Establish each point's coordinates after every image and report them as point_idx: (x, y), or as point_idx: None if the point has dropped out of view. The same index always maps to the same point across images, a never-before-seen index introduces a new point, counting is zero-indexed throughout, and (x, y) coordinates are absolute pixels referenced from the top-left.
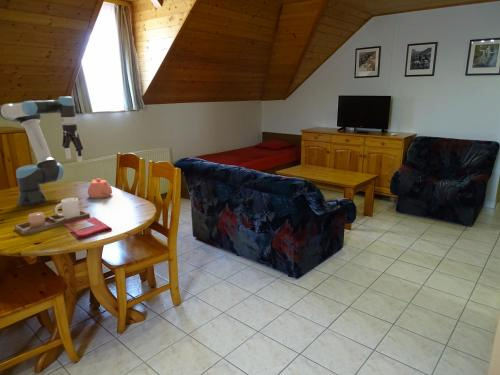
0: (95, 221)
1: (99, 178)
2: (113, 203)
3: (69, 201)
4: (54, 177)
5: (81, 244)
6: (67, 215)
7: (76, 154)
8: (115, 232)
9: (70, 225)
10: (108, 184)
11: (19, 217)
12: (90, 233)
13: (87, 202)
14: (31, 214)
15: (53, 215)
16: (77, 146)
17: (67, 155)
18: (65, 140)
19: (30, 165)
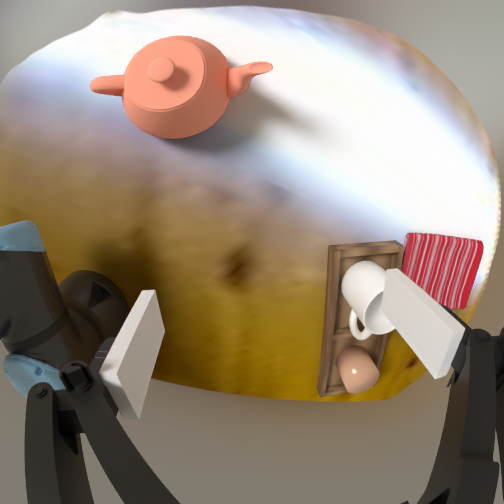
0: (433, 246)
1: (161, 63)
2: (320, 102)
3: (362, 299)
4: (48, 267)
5: (473, 308)
6: (377, 303)
7: (418, 352)
8: (488, 241)
9: None
10: (203, 43)
11: (221, 369)
12: (471, 287)
13: (224, 165)
14: (353, 388)
15: (332, 326)
16: (498, 397)
17: (154, 344)
18: (82, 498)
19: (14, 374)
